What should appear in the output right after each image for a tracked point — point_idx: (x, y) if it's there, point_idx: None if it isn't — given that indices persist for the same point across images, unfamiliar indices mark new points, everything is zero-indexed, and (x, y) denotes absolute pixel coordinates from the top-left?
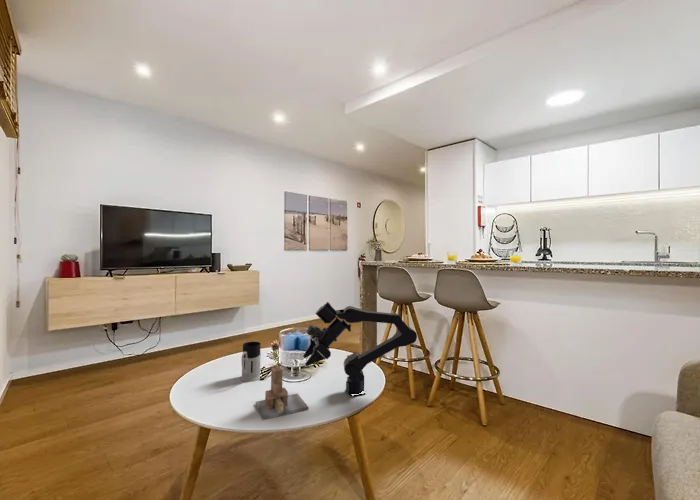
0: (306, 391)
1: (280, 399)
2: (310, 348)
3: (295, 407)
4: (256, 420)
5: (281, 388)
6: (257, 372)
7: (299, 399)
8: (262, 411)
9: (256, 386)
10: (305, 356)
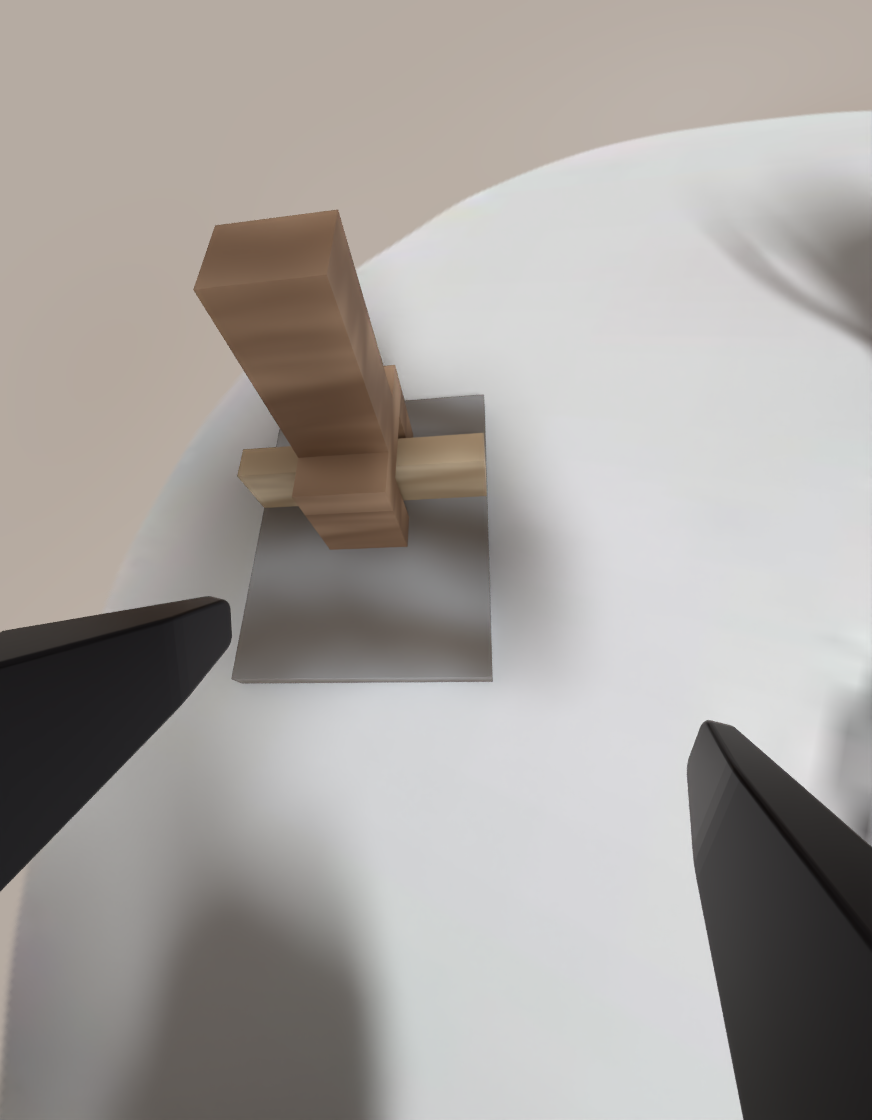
0: (557, 797)
1: None
2: (855, 1045)
3: (274, 590)
4: None
5: (285, 429)
6: None
7: (375, 655)
8: None
9: (795, 438)
10: (697, 780)
